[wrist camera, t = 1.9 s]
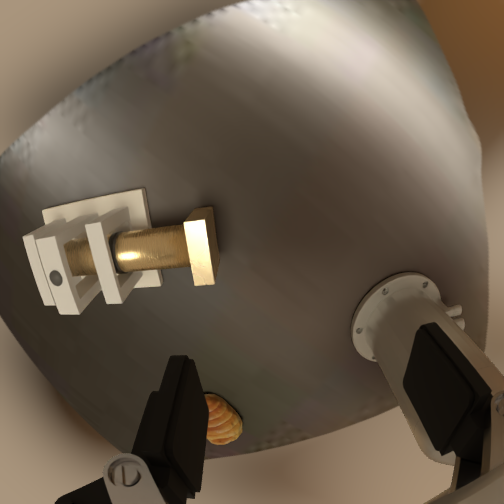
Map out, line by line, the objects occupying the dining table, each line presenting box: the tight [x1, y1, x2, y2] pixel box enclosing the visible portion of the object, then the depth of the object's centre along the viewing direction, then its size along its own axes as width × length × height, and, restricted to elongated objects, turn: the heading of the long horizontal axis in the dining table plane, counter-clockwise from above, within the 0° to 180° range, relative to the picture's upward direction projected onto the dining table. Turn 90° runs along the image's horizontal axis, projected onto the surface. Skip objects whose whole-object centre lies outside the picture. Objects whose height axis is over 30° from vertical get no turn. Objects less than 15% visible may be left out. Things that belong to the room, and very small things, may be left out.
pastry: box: [204, 394, 242, 445], centre depth 36 cm, size 9×7×4 cm
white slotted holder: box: [23, 188, 163, 314], centre depth 24 cm, size 13×10×9 cm
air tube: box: [63, 206, 220, 286], centre depth 24 cm, size 16×5×5 cm, turn 96°
